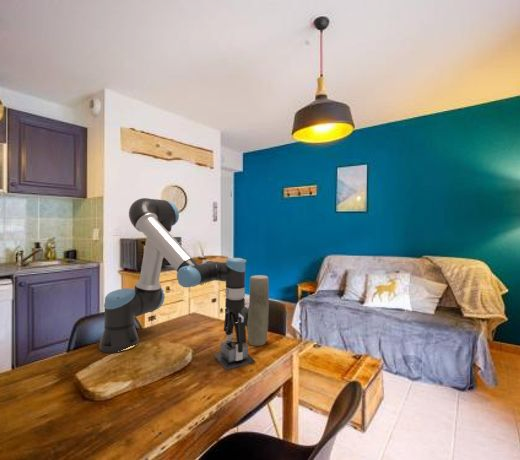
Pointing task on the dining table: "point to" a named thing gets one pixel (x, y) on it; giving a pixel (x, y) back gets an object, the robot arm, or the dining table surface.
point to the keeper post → (233, 364)
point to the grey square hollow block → (232, 351)
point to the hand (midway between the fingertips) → (234, 355)
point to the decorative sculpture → (257, 310)
